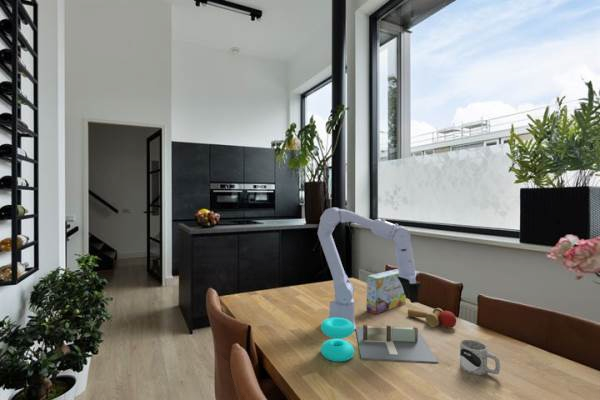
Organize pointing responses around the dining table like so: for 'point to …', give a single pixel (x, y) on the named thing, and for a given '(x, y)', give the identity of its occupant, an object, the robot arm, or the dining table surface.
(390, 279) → the snack box
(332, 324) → the donuts
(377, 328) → the fence fixed
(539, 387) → the dining table surface
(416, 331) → the fence gate
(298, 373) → the dining table surface
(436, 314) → the kendama
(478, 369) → the mug
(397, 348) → the card
